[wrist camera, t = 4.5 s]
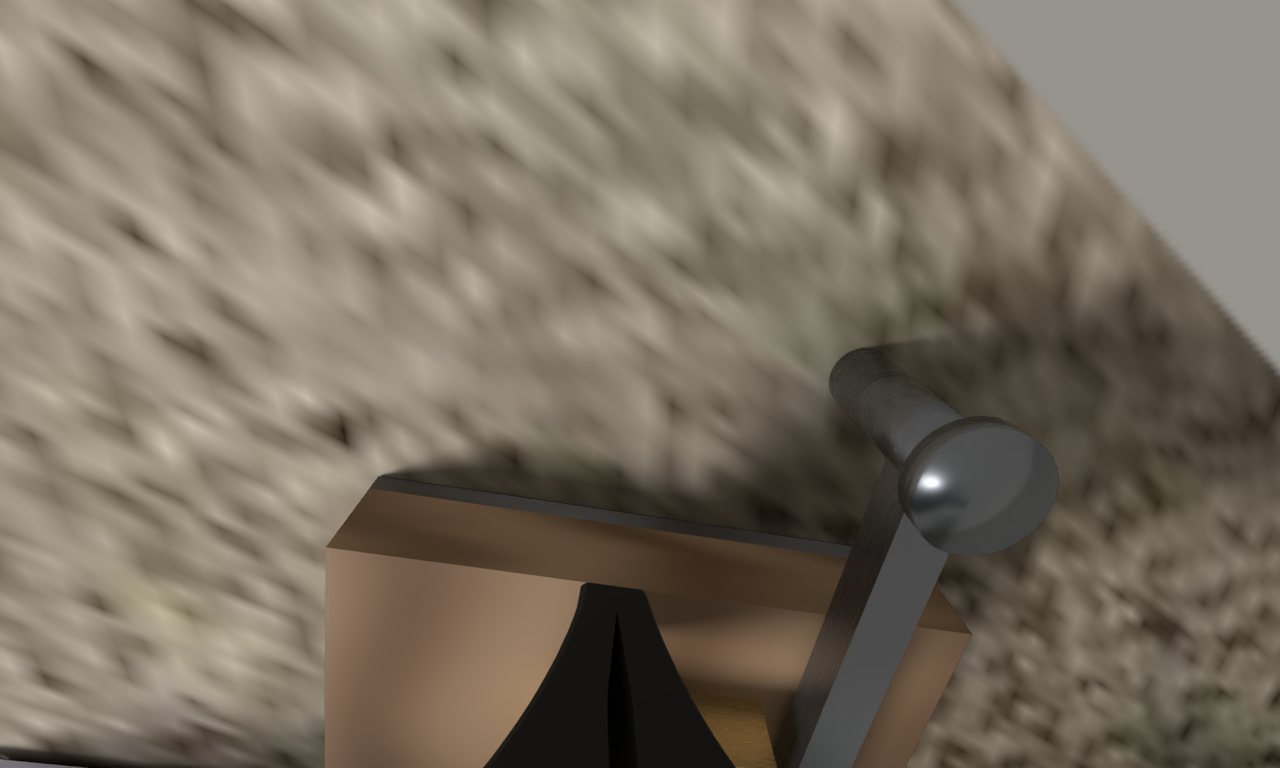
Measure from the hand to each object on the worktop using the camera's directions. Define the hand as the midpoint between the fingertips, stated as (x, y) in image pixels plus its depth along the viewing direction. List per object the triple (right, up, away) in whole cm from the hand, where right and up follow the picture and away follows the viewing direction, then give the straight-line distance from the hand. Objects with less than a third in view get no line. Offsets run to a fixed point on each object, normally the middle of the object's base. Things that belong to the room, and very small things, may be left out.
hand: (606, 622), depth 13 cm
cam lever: (+5, +1, +4) cm, 7 cm away
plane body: (+1, -2, +5) cm, 5 cm away
